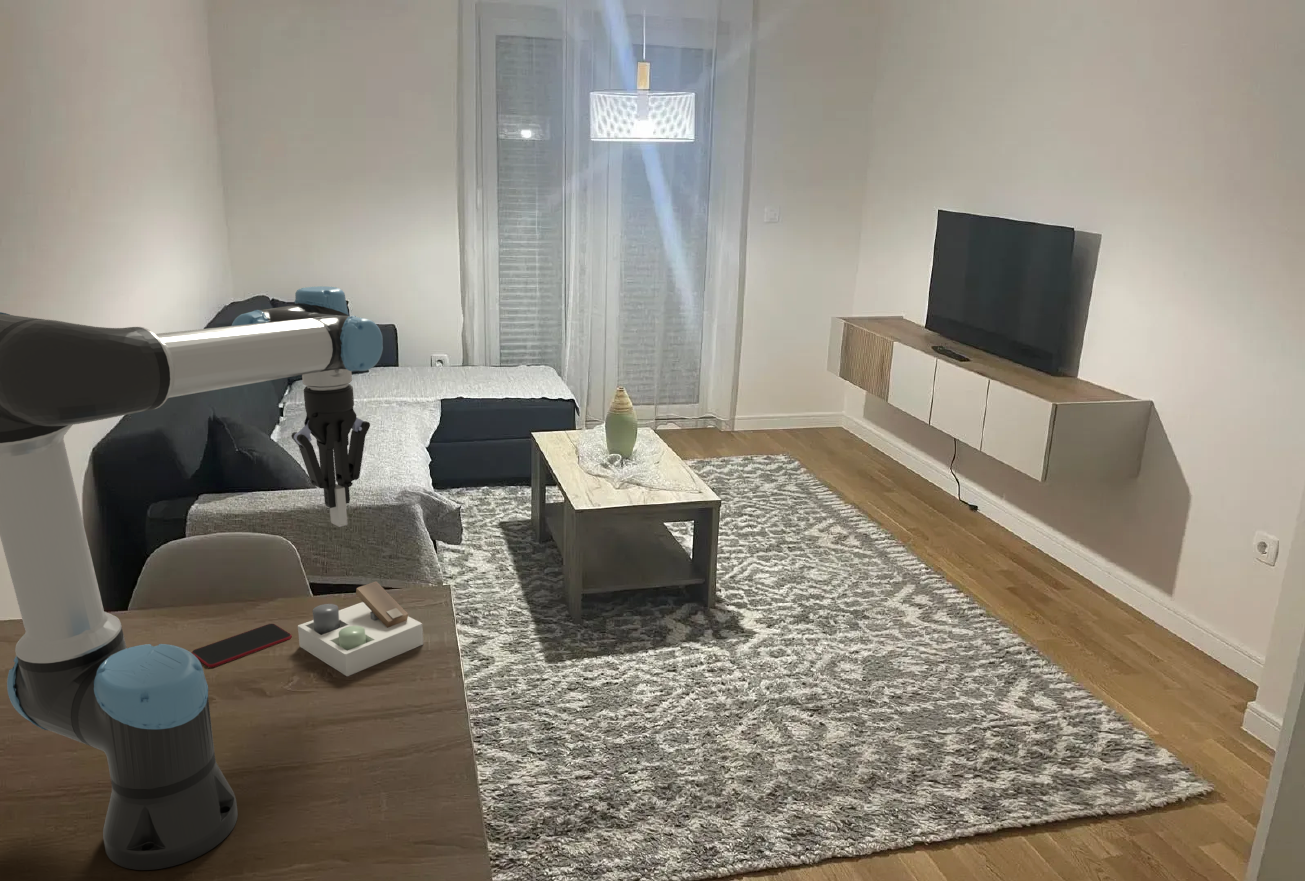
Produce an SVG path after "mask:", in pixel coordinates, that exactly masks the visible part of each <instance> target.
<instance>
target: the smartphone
mask: <svg viewBox="0 0 1305 881" xmlns="http://www.w3.org/2000/svg"><path fill="white" fill-rule="evenodd" d="M292 635H293V634H292V633H290V632H288V631H286V630H285V629H283V628H281V627H280V626H279V625H277V624H275V623H268V624H265V625H261V626H259V627H256V628H253V629H251V630H248V631H244V632H242V633H238V634H236V635H233V636H230V637H226V638H224V639H221V640H219V641H215V642H212V643H210V644H207V645H204V646H201V647H198V648H195V649H193V650H192V651H191V653H192V654H193V655H195V656H196V657H197V659H198V660H199V661H200V663H201V664H202V665H203V664H204V665H205V666H206V667H207V668H215V667H218V666H220V665H223V664H225V663H226V664H227V663H229V662H232V661H235V660H237V659H239V658H242V657H245V656H247V655H250V654H254V653H256V652H258V651H262V650H264V649H267V648H269V647H273V646H275V645H277V644H280V643H283V642H285V641H288V640H290V639H292V637H293V636H292Z"/></svg>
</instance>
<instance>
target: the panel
mask: <svg viewBox="0 0 1305 881" xmlns="http://www.w3.org/2000/svg"><path fill="white" fill-rule="evenodd" d="M338 610H339V622H340V628H339V629H336V630H333V631H331V632H328V633H325V634H323V635H320V634H319V633H317V632H315V631H314V621H313V619H312V620H309V621H307V622H303V623H300V624H298V625H297V631H298V632H297V633H298V644H299V647H300V648H301V649H303V650H304V651H306V652H307V653H310V654H311V655H312V656H314V657H315V658H316V659H319V660H321V661H322V662H324V663H325V664H327V665H328V666H330V667H331V668H333V669H335V670H336V671H338V672H340V673H341V674H342V675H344V676H346V677H349V676H352V675H355V674H356V673H359V672H361V671H363V670H366V669H369V668H371V667H373V666H375V665H378V664H380V663H383V662H384V661H385V662H386V661H387V660H389V659H392V658H394V657H397V656H399V655H402V654H404V653H407V652H408V651H411V650H413V649H416V648H418V647H421V646H423V645H424V630H423V623H422V622H421V621H419V620H417V619H414V618H413V617H410V616H409V615H408V618H407V620H406V621H404V622H401V623H399V624H396V625H393V626H391V627H388V628H387V627H386V626H385V625H384V624H383V623H382V622H381V620H380V619H379V618H378V617H377V616H376V615H375V614H374V613H373V612H372V611H371V610H370V609H369V608H368V607H367V606H366V605H365V603H364V602H363V601H361V602H359V603H356V604H353V605H350V606H347V607H344V608H342V609H338ZM349 626H360V627H363V628H364V629H365V638H366V643H365V644H363V645H360V646H358V647H355V648H353V649H350V650H348V651H347V650H345V649H344V648H342V647H340V644H339V631H340V630H341V629H343V628H346V627H349Z"/></svg>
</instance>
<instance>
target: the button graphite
mask: <svg viewBox="0 0 1305 881" xmlns="http://www.w3.org/2000/svg"><path fill="white" fill-rule="evenodd" d="M339 610H340V609H339V606H338V605H337V604H334V603H324V604H323V603H322V604H320V605H317V606H315V607H314V608H313V609H312V618H313V619H312V620H313V621H314V631H315V632H317V633H319V634H320V635H323V634H325V633H328V632H331V631H333V630H336V629H339V628H340V622H339Z"/></svg>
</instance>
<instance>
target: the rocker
mask: <svg viewBox="0 0 1305 881" xmlns="http://www.w3.org/2000/svg"><path fill="white" fill-rule="evenodd" d="M355 596H357V597H358V598H359V600H361V602H364V603H365V605H366V606H367V607H368V608H369V609H370V610H371V611H372V612H373V613H374V614H375V615H376V616H377V617H378V618H379V619H380V620H381V622H382V623H383V624H384V625H385V626H386V627H387V628H388V627H391V626H393V625H396V624H399V623H401V622H404V621H406V620H407V618H408V616H409V613H408V612H407V611H406V610H404V607H402V606H401V605H400V604H399V603H398V602H397V601H396V600H395V599H394V598H393V597H392V596H391V594H390V593H388V592H387V591H386V590H385V588H384V587H383V586H381V584H380V583H379V582H378V581H377V580H376V581H373V582H370V583H367V584H364V585H361V586H358V587H356V591H355Z"/></svg>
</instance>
